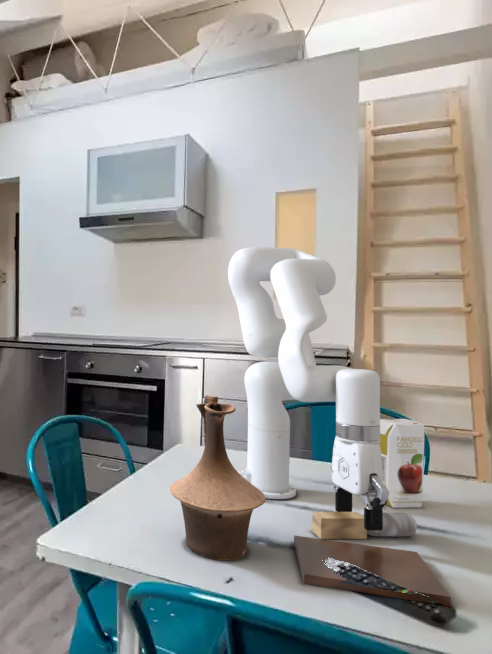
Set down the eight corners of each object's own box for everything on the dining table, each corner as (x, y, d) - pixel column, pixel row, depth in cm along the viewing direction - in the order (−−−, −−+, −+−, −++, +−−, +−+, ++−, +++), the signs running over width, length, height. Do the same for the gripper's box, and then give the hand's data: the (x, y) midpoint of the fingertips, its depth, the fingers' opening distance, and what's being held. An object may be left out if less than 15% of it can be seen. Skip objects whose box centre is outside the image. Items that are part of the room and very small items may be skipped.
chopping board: (303, 583, 88) (304, 574, 88) (293, 543, 103) (293, 535, 103) (450, 606, 81) (451, 596, 81) (416, 560, 96) (417, 551, 96)
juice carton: (369, 497, 128) (371, 417, 128) (403, 496, 129) (405, 417, 129) (392, 509, 121) (394, 424, 120) (428, 508, 122) (430, 424, 121)
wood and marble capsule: (322, 539, 104) (322, 517, 104) (310, 530, 109) (311, 508, 109) (422, 540, 105) (422, 517, 105) (406, 530, 109) (407, 509, 109)
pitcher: (160, 526, 110) (162, 389, 109) (245, 528, 109) (248, 390, 109) (179, 568, 92) (181, 404, 92) (280, 570, 92) (283, 406, 91)
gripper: (315, 424, 115) (316, 505, 115) (365, 442, 97) (365, 538, 97) (351, 424, 115) (351, 505, 115) (406, 442, 98) (407, 537, 97)
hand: (357, 520), depth 106 cm, fingers open, 9 cm apart
